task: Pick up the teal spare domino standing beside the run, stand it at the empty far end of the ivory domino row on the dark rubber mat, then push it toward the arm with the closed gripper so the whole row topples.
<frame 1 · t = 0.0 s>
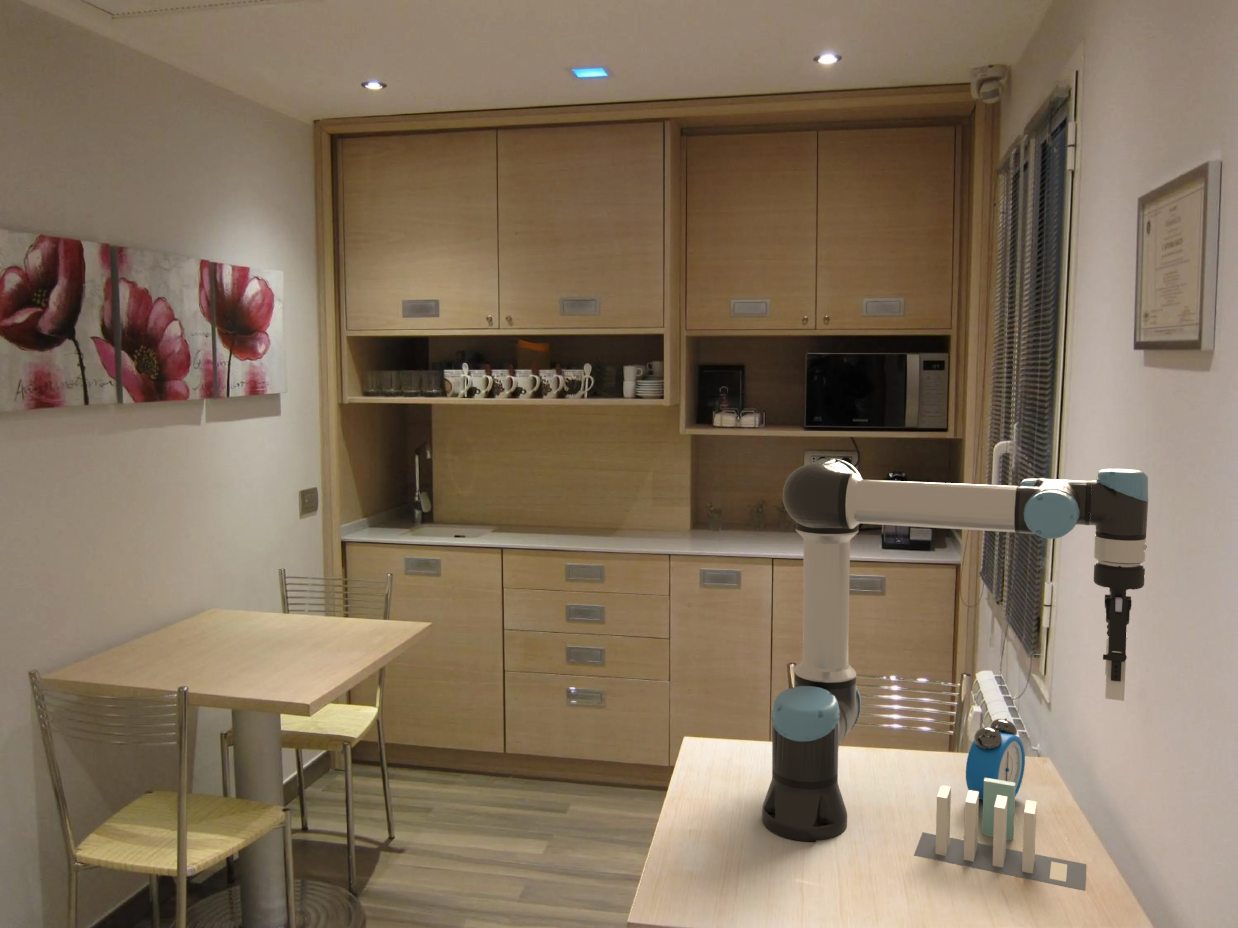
hand: (1114, 686, 164), 28 cm above the table, fingers open, 13 cm apart
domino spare: (997, 836, 170), on the table
domino 2: (970, 853, 164), resting on mat
domino 1: (942, 848, 166), resting on mat
alarm clock: (994, 801, 185), on the table
domino 3: (999, 859, 162), resting on mat
domino 4: (1028, 865, 160), resting on mat
mat: (999, 861, 162), on the table
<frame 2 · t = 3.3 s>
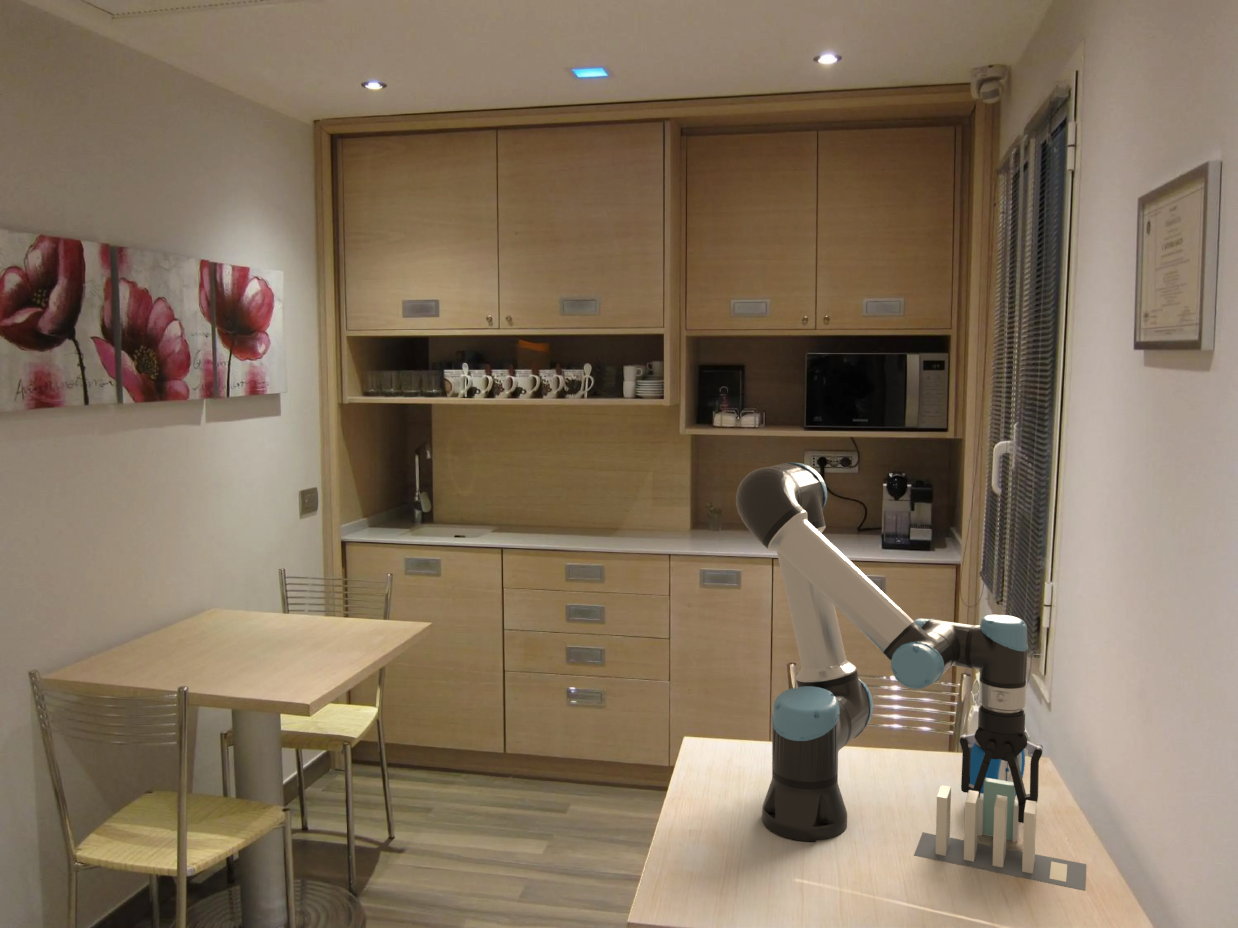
hand: (997, 834, 170), 0 cm above the table, fingers closed on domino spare, 5 cm apart
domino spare: (997, 836, 170), on the table, touching gripper
everything else where it was.
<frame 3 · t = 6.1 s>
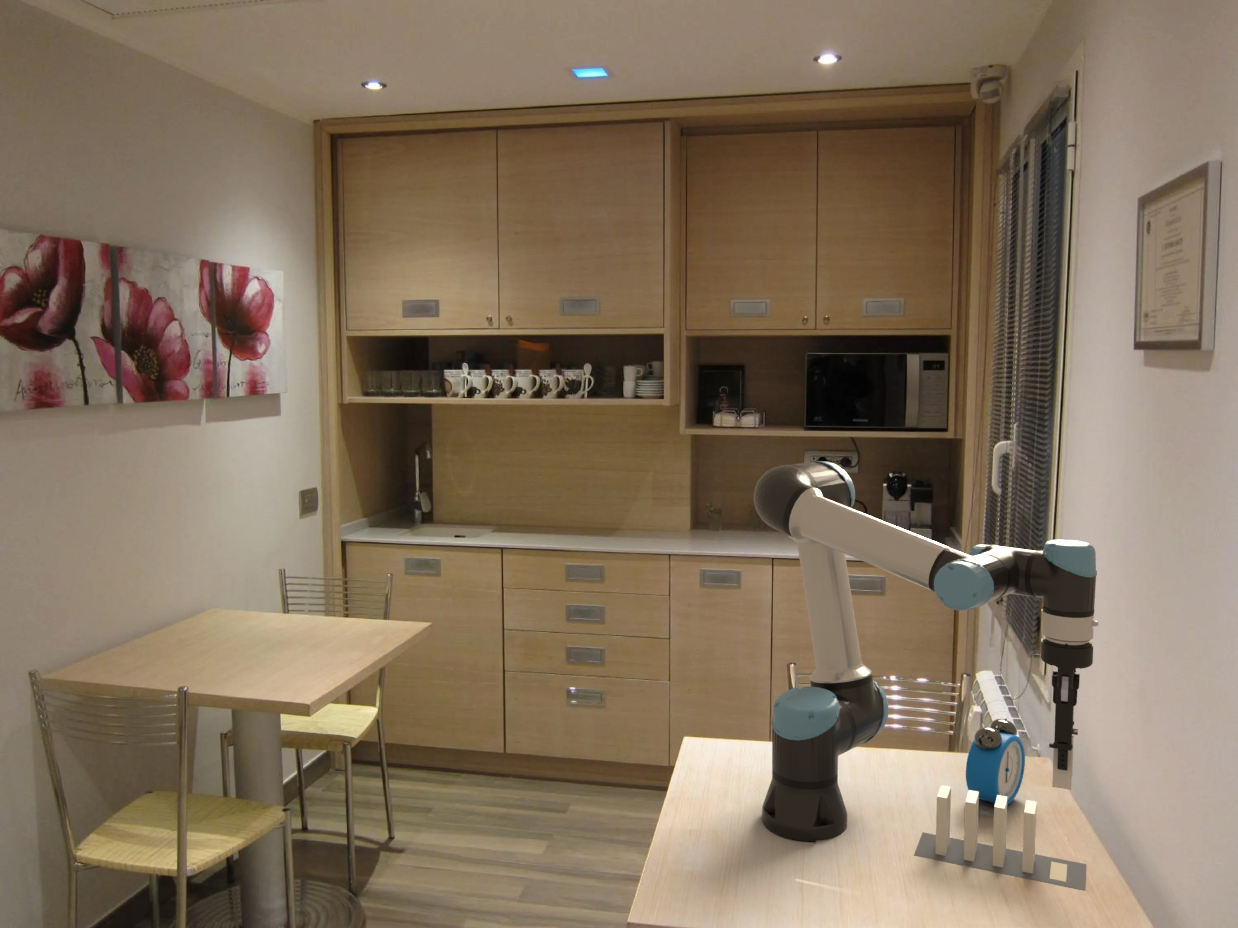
hand: (1062, 780, 156), 16 cm above the table, fingers closed on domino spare, 5 cm apart
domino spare: (1062, 781, 157), point 15 cm above the table, touching gripper
everything else where it was.
when the fingers open (1 cm above the table, at t = 8.8 s): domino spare stays where it is, resting on mat.
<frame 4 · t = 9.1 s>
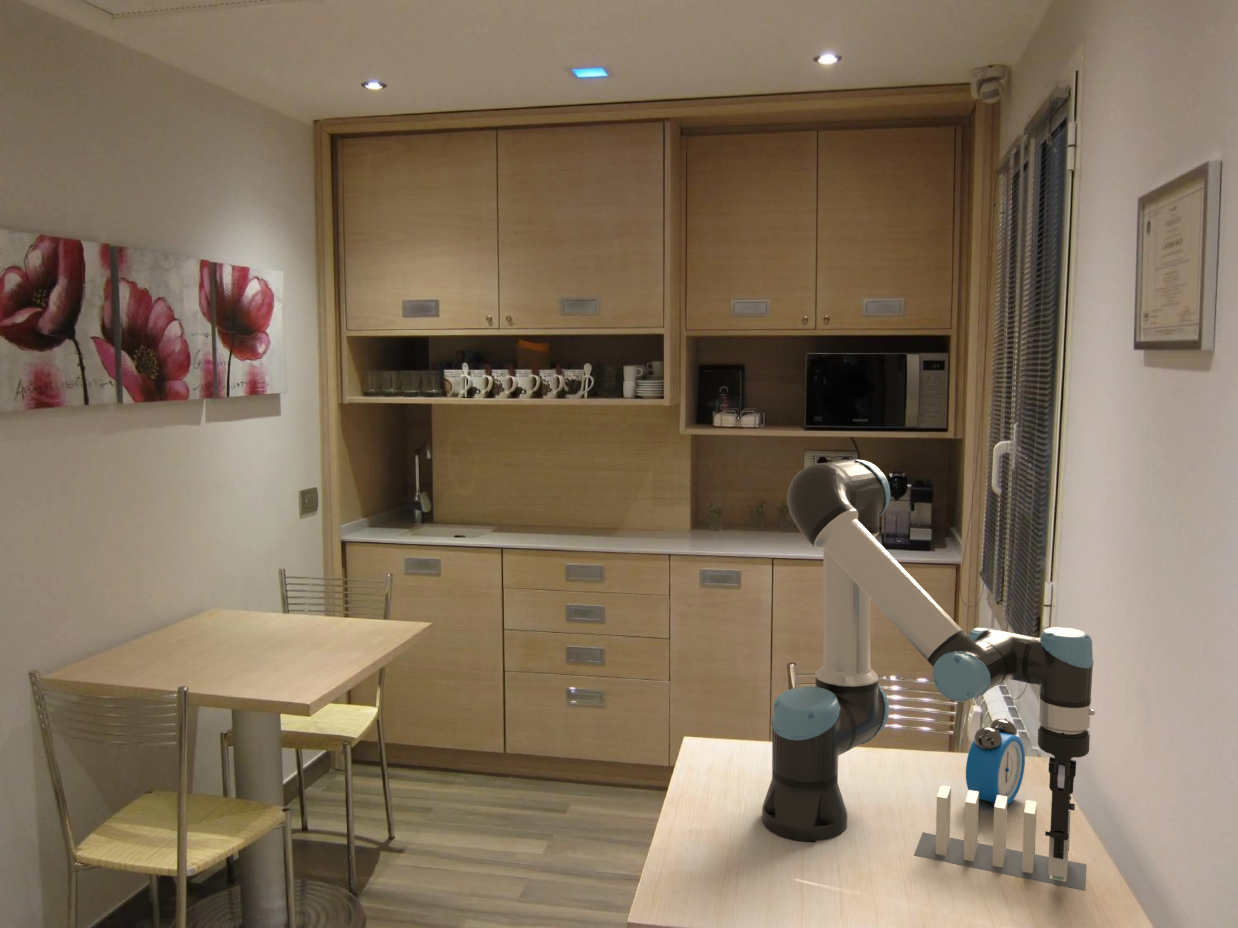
hand: (1058, 861, 158), 2 cm above the table, fingers open, 9 cm apart
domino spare: (1058, 871, 158), resting on mat
everything else where it was.
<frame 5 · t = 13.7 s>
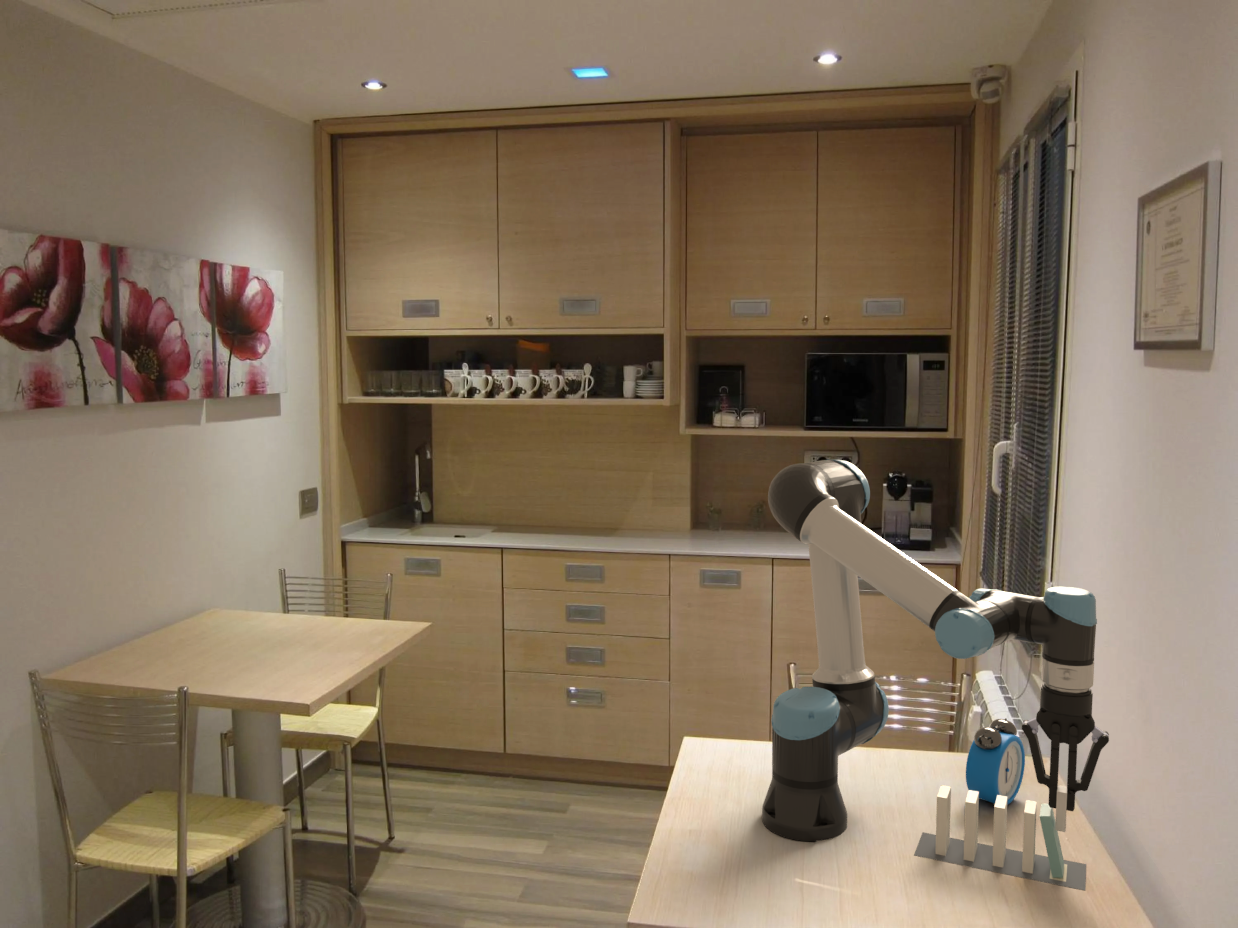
hand: (1060, 827, 157), 8 cm above the table, fingers closed
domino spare: (1058, 870, 158), resting on mat, tilted 13°
everything else where it was.
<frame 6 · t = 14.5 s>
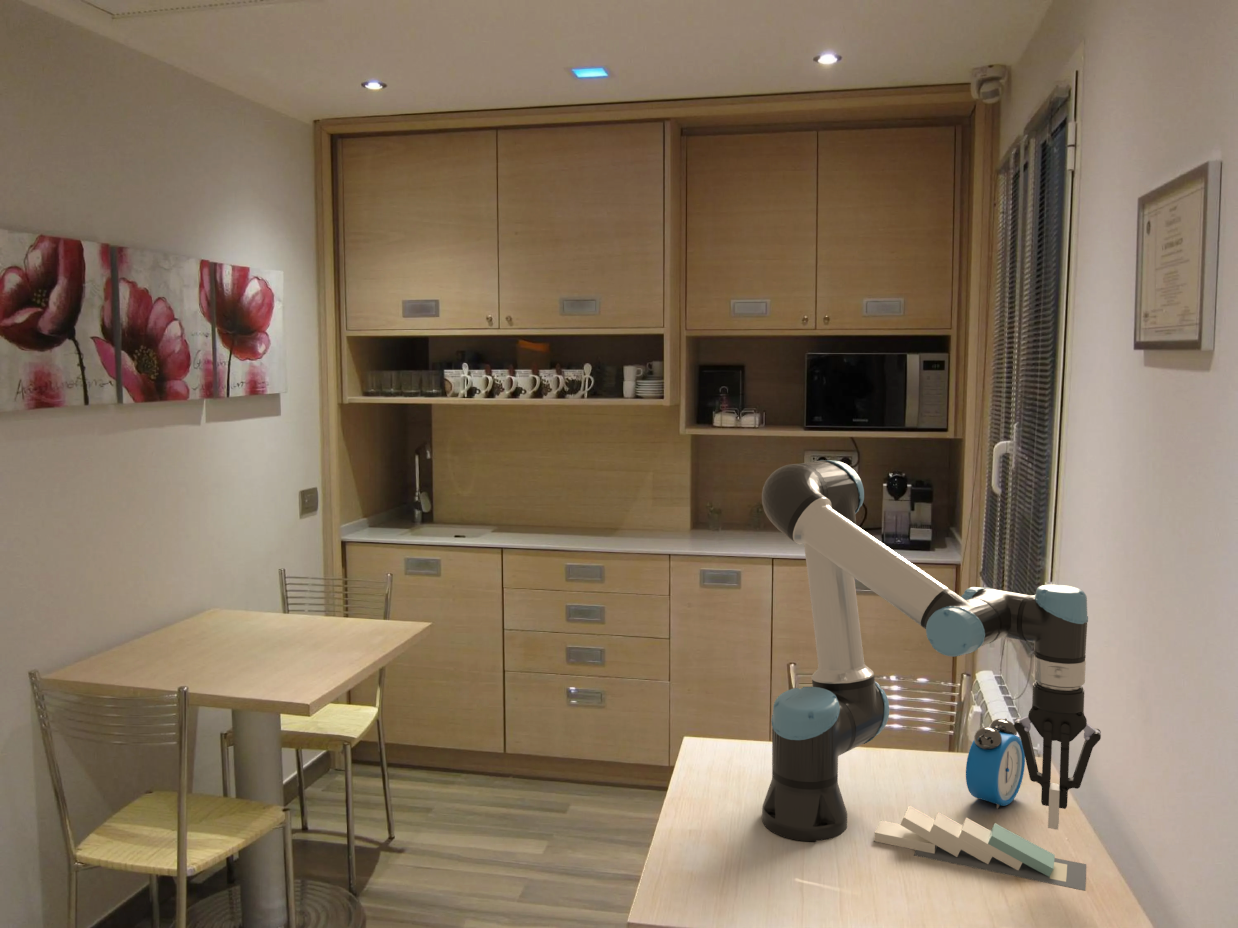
hand: (1053, 824, 158), 8 cm above the table, fingers closed
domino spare: (1052, 865, 158), point 1 cm above the table, tilted 69°, touching mat
domino 2: (960, 846, 165), point 1 cm above the table, tilted 69°, touching domino 1, domino 3
domino 1: (937, 842, 166), point 1 cm above the table, tilted 90°, touching domino 2, mat
domino 3: (991, 853, 162), point 1 cm above the table, tilted 69°, touching domino 2
domino 4: (1021, 859, 160), point 1 cm above the table, tilted 69°, touching mat
everything else where it was.
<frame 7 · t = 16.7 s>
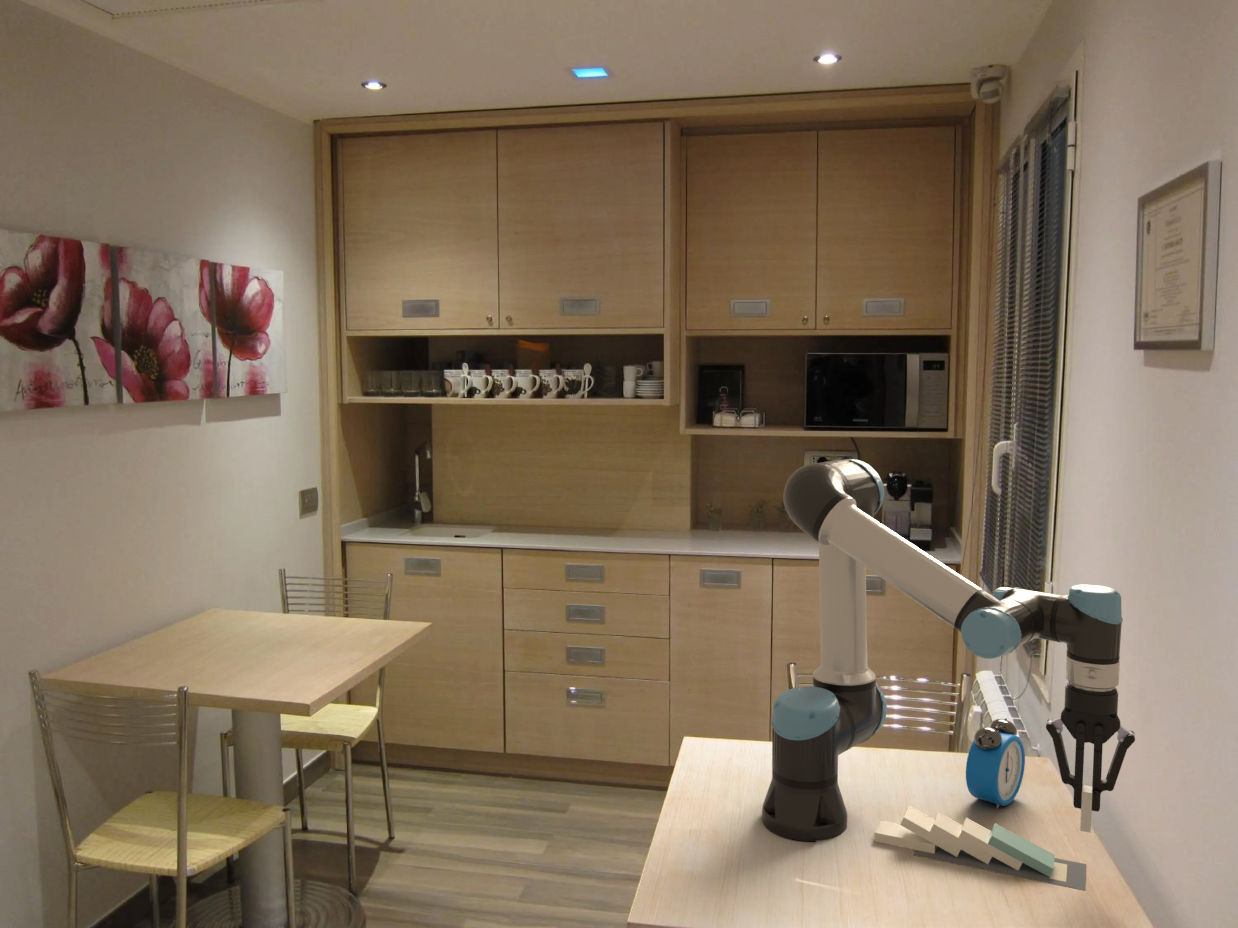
hand: (1085, 827, 156), 8 cm above the table, fingers closed
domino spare: (1052, 865, 158), point 1 cm above the table, tilted 69°, touching domino 4, mat
domino 3: (991, 853, 162), point 1 cm above the table, tilted 69°, touching domino 2, domino 4, mat
domino 4: (1021, 859, 160), point 1 cm above the table, tilted 69°, touching domino 3, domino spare, mat
everything else where it was.
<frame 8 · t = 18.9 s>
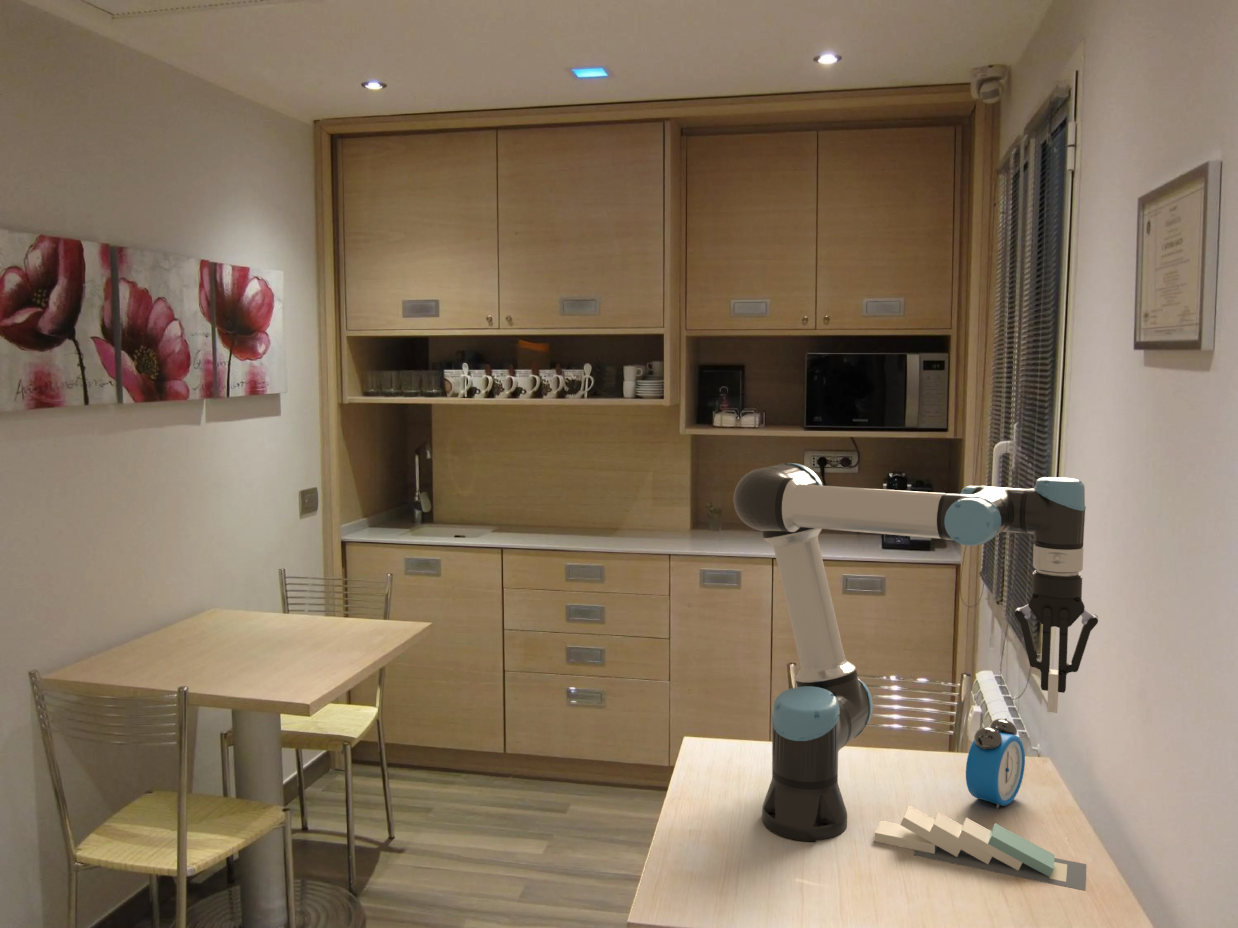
hand: (1052, 709, 164), 24 cm above the table, fingers closed
nothing on the table moved.
at the end: domino 1 tilted 90°; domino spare tilted 69° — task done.
